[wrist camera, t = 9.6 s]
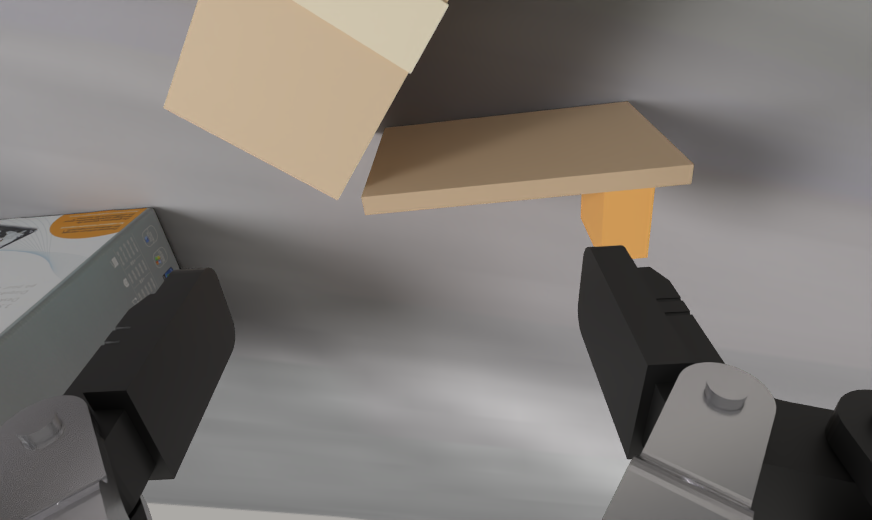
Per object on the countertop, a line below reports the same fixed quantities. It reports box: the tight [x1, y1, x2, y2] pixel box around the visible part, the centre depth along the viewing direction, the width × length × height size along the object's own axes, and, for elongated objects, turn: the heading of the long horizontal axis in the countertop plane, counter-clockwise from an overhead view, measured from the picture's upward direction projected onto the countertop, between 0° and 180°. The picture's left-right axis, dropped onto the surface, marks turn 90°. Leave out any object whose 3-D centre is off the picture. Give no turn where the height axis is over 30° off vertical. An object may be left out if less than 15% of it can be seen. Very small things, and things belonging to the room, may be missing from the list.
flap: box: [361, 101, 694, 259], centre depth 31 cm, size 5×16×11 cm, turn 97°
